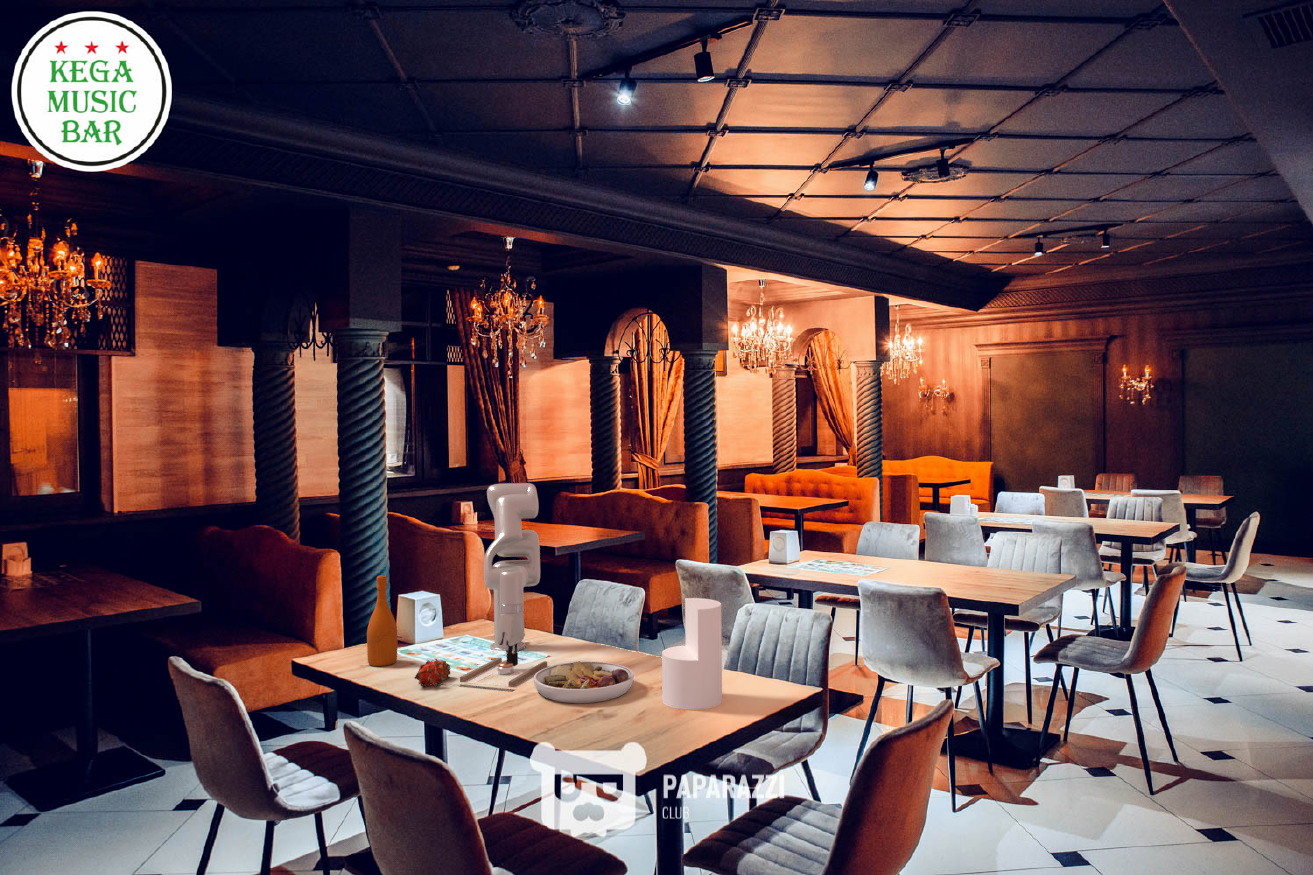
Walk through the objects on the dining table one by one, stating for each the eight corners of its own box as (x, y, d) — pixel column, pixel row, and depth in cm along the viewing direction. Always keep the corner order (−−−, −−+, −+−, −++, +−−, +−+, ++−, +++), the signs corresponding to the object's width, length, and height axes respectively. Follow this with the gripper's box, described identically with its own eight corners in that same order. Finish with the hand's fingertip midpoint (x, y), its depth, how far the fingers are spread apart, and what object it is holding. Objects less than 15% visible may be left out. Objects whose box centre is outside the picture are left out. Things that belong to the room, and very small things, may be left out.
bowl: (515, 700, 249) (515, 674, 249) (561, 673, 277) (561, 649, 277) (610, 711, 239) (609, 683, 239) (648, 681, 267) (647, 656, 267)
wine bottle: (403, 661, 292) (402, 574, 292) (380, 668, 284) (379, 578, 284) (384, 658, 297) (383, 572, 297) (361, 664, 289) (360, 576, 289)
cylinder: (714, 689, 257) (713, 596, 257) (728, 707, 240) (727, 608, 240) (657, 693, 254) (656, 599, 254) (668, 711, 237) (667, 611, 237)
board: (498, 666, 285) (498, 657, 285) (547, 670, 280) (547, 661, 279) (459, 686, 263) (459, 676, 262) (512, 691, 257) (512, 681, 257)
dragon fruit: (454, 686, 268) (418, 699, 261) (443, 666, 273) (407, 678, 266) (458, 668, 264) (421, 681, 256) (446, 648, 268) (410, 660, 261)
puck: (503, 670, 275) (503, 660, 275) (516, 671, 273) (516, 662, 273) (494, 674, 271) (494, 664, 271) (508, 675, 269) (508, 666, 269)
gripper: (512, 603, 284) (512, 658, 284) (489, 612, 270) (490, 670, 270) (532, 604, 281) (533, 660, 281) (511, 613, 267) (511, 672, 267)
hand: (512, 665), depth 276 cm, fingers closed
